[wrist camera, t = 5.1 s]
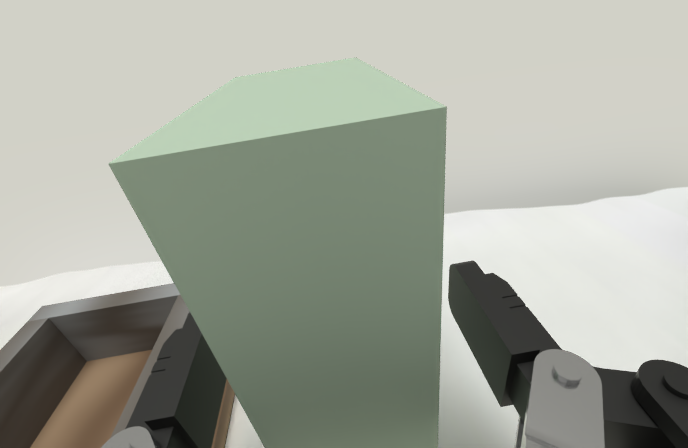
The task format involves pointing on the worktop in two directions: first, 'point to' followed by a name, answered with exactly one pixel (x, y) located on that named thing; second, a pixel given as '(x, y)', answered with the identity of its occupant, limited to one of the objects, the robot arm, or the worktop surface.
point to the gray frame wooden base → (88, 369)
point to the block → (308, 247)
